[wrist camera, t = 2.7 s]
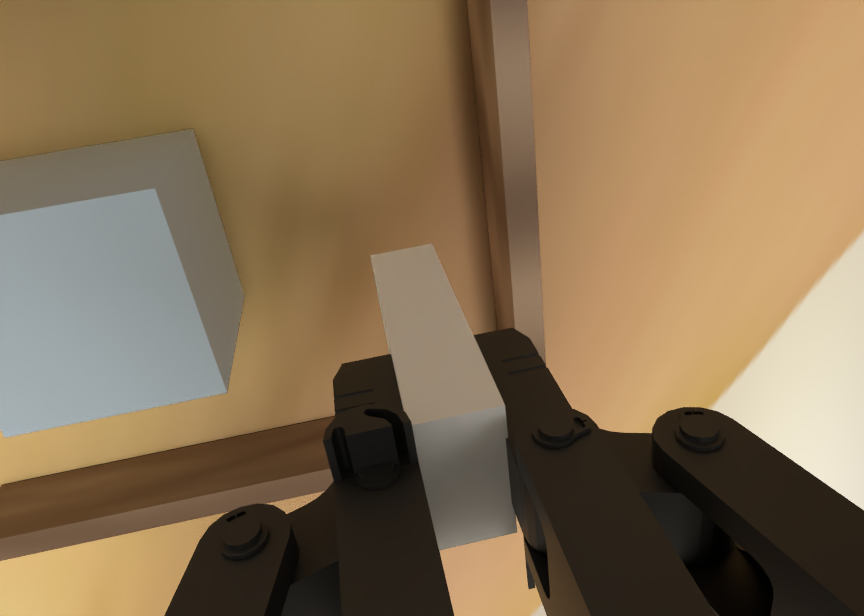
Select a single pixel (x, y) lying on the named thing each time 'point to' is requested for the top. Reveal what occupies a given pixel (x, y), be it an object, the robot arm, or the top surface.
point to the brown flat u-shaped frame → (303, 443)
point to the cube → (112, 283)
